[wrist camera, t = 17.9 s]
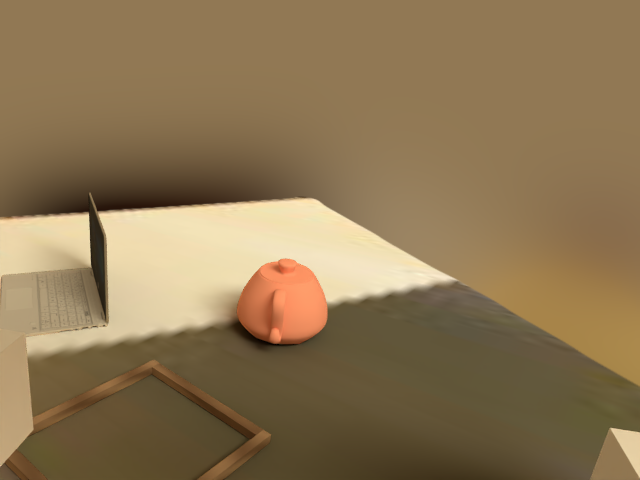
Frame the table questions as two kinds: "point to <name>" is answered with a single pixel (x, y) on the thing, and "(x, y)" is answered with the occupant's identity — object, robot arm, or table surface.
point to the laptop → (59, 293)
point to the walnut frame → (257, 436)
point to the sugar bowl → (283, 303)
